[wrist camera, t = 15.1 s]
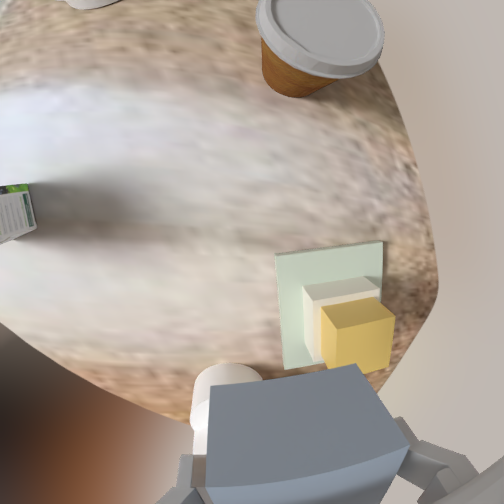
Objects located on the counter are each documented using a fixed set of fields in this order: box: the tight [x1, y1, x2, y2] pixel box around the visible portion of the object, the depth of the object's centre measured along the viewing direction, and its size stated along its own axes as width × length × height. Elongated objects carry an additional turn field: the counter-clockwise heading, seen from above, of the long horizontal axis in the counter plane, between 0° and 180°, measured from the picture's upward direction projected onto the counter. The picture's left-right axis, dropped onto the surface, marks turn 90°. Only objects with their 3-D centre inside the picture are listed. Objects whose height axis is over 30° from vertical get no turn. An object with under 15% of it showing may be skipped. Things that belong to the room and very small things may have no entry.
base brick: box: [302, 276, 380, 362], centre depth 29 cm, size 7×7×4 cm
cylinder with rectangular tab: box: [190, 363, 263, 455], centre depth 28 cm, size 9×9×12 cm
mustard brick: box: [321, 297, 395, 374], centre depth 24 cm, size 6×6×4 cm
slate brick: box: [205, 363, 410, 504], centre depth 8 cm, size 6×6×4 cm
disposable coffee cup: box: [256, 0, 385, 97], centre depth 19 cm, size 10×10×12 cm
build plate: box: [274, 240, 383, 370], centre depth 31 cm, size 14×12×1 cm
